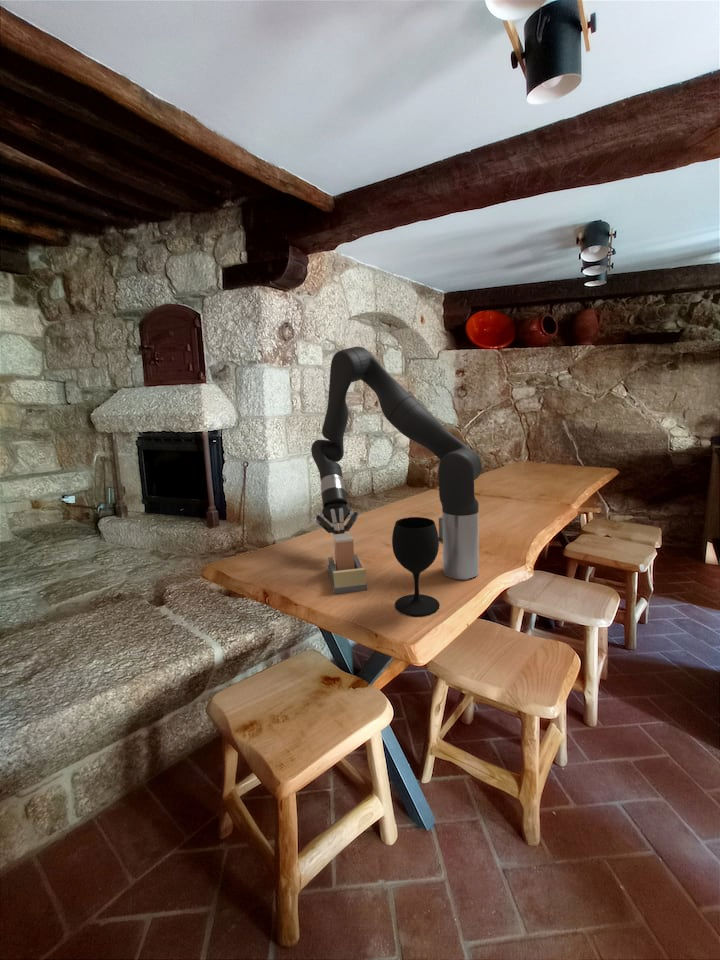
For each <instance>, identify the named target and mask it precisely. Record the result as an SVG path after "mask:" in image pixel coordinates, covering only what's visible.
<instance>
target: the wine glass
mask: <svg viewBox="0 0 720 960" xmlns="http://www.w3.org/2000/svg"><path fill="white" fill-rule="evenodd" d="M392 531H393V532H392V537H391V543H392V545H391V546H392V550H393V551H392V552H393V555H394V558H395V559H396V560H397V562H398V563H399V564H400V565H401V566H402V567H403V568H404V569H405V570H407V571H408V572H410V573H411V574H412V577H413V582H414V585H413V587H414V593H413V594H406V595H403V596H401V597H398V599H396V601H395V602H394V608H395V610H396V611H397V612H399V613H400V614H402V615H405V616H408V617H413V618H414V617H418V618H419V617H427V615H428V616H431V615H433V613H434V614H435V613H437V612H438V611H439V610H440V608H439V607H441V606H440V602H439V600H437V599H436V598H435V597H433V596H431V595H428V594H427V595H426V594H423V593H422V594H421V593H420V589H419V588H420V587H419V585H420V584H419V583H420V581H419V580H420V576H421V575H420V574H422V572H424V571H426V569H428V568H429V567H430V566H432V564H433V563H434V562H435V560H436V558H437V556H438V553H439V547H440V542H439V541H440V539H439V531H438V528H437V525H436V523H435V521H434V520H433V519H432V518H427V517H419V516H412V517H411V516H410V517H403V518H399V519H398V520H396V521H395V523H394V527H393V530H392ZM438 609H439V610H438ZM437 610H438V611H437ZM436 611H437V612H436ZM430 614H431V615H430Z"/></svg>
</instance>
